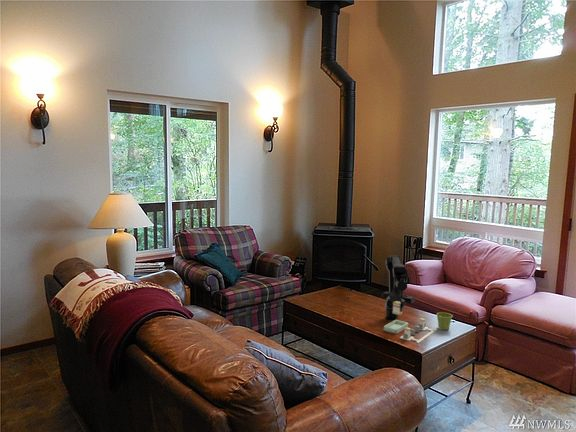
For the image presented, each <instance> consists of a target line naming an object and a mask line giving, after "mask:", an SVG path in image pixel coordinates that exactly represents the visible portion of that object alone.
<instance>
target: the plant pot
mask: <svg viewBox="0 0 576 432" xmlns="http://www.w3.org/2000/svg"><path fill="white" fill-rule="evenodd" d="M436 317H437V323H438V324H437V325H438V328H439V330H443V331H447V330H448V331H449V330H450V327H451V322H452V318H453V314H451V313H448V312H442V311H441V312H437V313H436Z"/></svg>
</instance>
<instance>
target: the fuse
mask: <svg viewBox="0 0 576 432" xmlns="http://www.w3.org/2000/svg"><path fill="white" fill-rule="evenodd" d="M400 302H401V301H400V300H399V301H395V302H393V312H392V313H393V314H397V315H398V316H399V315H400V316H401V315H402V314H403V311H402V312H400V307H401V303H400Z"/></svg>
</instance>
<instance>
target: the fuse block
mask: <svg viewBox="0 0 576 432" xmlns="http://www.w3.org/2000/svg"><path fill="white" fill-rule="evenodd" d="M421 331H422V332H423V331H424V332H425V331H429V332H428V333H426V334H425V335H424V336H422V337H421V338H419V339H418V338H417V339H416V338H415V337H414V336H416V332H417V333H420V332H421ZM436 332H437V328H434V329H431V328H429V326H426V319H425V318H422V317H419V323H418V325H414V329H413V328H411V327H409V326H408V327H405V328H404V333H402V335H400V337H399V339H401V340H405V341H408V342H410V341H414V342H415V343H416V344H417V345H419V344H420V343H422V342H423V341H425V339H428V338H429V337H430V336H431V335H433V334H435V333H436Z"/></svg>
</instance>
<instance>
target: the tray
mask: <svg viewBox="0 0 576 432" xmlns="http://www.w3.org/2000/svg"><path fill="white" fill-rule="evenodd" d="M409 324H410V323H409V322H407V321H403V320H399V319H396V320H391V322H389V323H387V324H385V325H384V326H383V327H382V330H383V331H385V332H387V333H390V334H391V333H392V334H394V335H398V334H399V333H401V332H402V331H405V329H404V328H405V327H408V328H409V327H410V326H409Z"/></svg>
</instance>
